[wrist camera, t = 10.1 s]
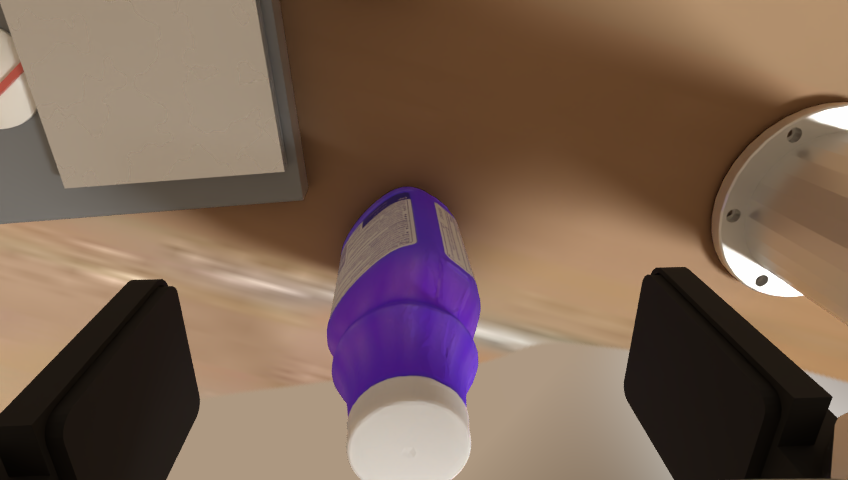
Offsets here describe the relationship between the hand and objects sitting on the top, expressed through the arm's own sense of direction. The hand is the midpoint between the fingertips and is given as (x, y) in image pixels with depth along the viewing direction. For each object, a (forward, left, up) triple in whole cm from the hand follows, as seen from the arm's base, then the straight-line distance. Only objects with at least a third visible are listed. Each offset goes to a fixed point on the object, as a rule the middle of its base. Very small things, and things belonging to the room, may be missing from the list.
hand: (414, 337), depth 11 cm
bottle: (0, +7, -21) cm, 22 cm away
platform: (+11, -4, -19) cm, 22 cm away
